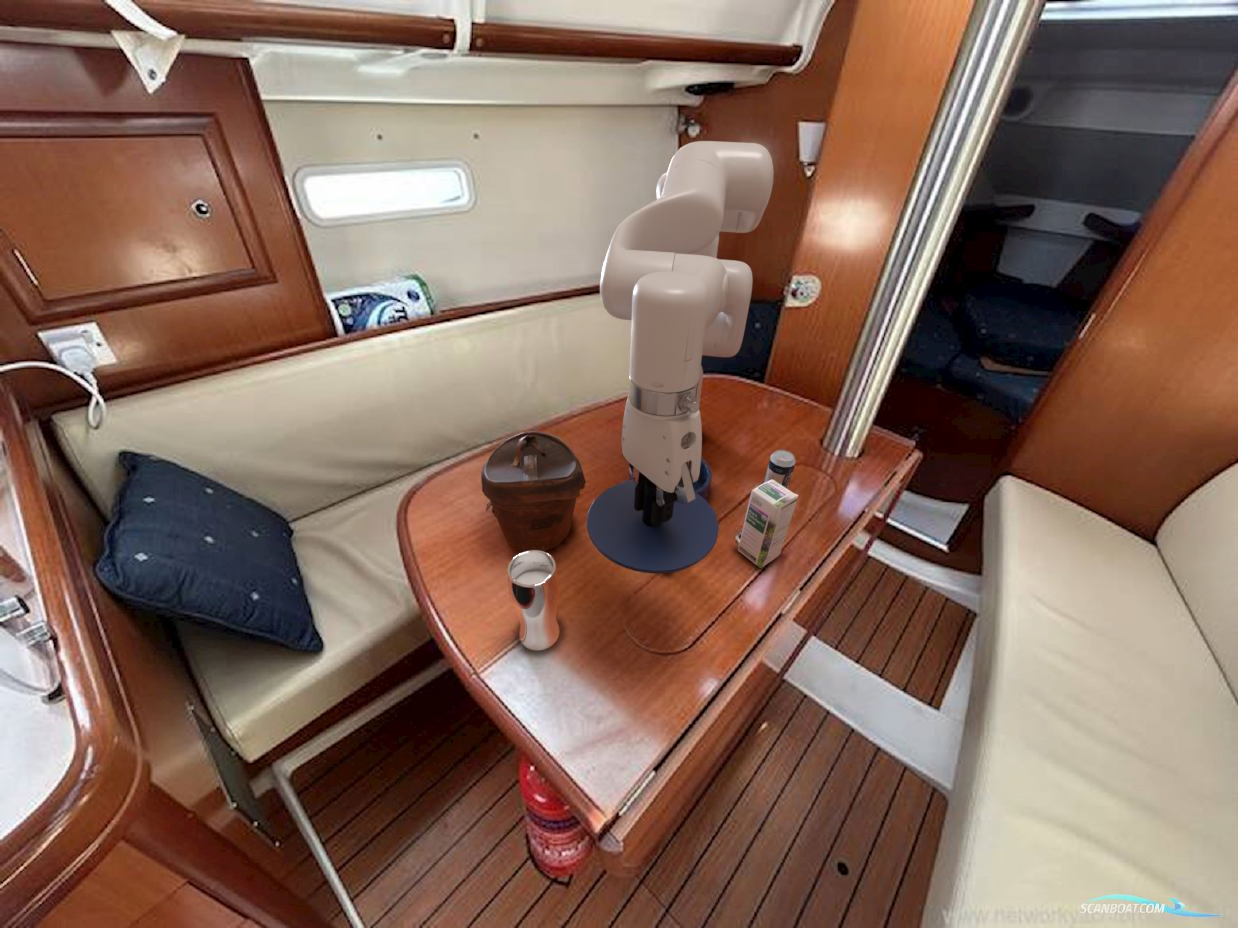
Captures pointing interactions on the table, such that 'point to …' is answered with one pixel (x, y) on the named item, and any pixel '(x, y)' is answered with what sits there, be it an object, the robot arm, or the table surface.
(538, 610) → the beer glass
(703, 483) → the pot
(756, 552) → the syrup box
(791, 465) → the pill bottle
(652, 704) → the table surface
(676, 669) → the table surface
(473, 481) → the table surface
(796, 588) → the table surface
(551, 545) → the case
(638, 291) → the robot arm
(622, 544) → the lid
